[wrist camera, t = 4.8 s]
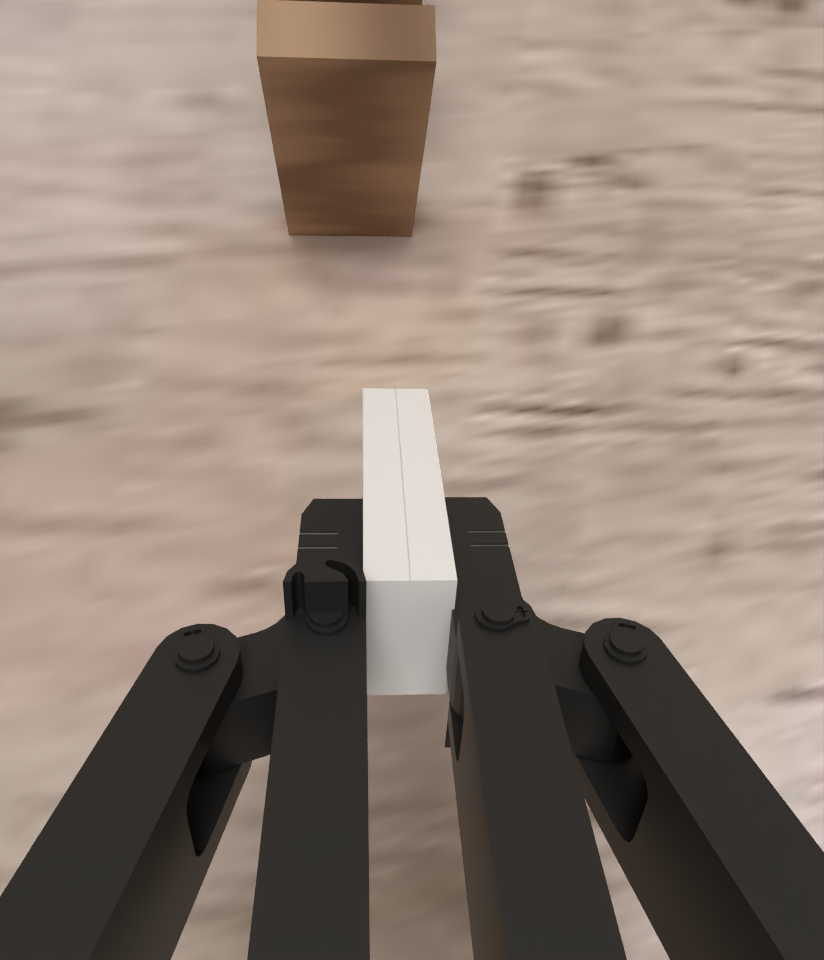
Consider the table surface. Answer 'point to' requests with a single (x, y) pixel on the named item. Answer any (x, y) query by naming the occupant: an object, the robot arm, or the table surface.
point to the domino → (347, 111)
